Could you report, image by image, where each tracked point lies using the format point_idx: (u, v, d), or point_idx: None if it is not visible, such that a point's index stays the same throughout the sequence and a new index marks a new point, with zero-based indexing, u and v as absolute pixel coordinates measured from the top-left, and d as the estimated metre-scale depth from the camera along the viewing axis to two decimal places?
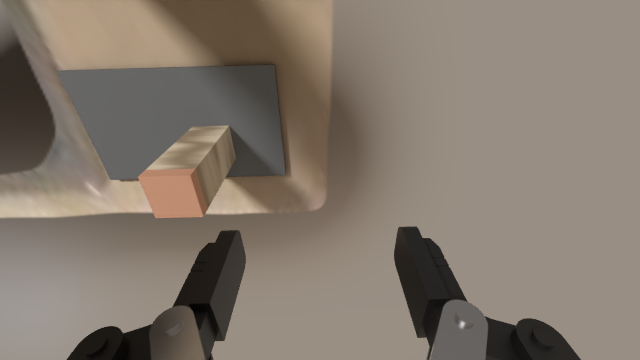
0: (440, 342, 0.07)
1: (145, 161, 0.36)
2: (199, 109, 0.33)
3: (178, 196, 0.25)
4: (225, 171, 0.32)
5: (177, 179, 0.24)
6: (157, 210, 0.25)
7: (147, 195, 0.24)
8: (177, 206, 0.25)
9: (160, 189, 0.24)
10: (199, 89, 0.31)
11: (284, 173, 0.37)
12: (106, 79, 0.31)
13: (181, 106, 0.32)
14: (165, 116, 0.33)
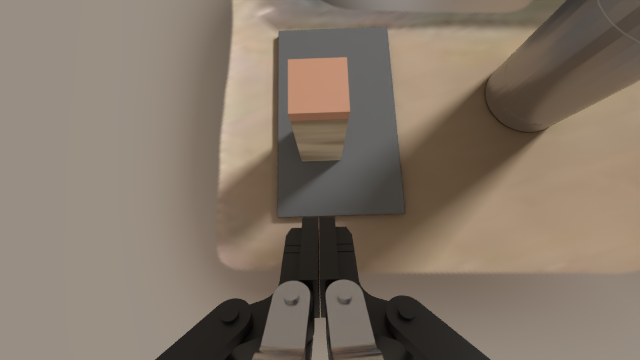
0: (334, 330, 0.08)
1: None
2: (357, 134, 0.32)
3: (319, 92, 0.20)
4: (302, 148, 0.27)
5: (344, 96, 0.20)
6: (300, 64, 0.21)
7: (321, 59, 0.21)
8: (305, 87, 0.20)
9: (330, 75, 0.21)
10: (377, 138, 0.32)
11: (280, 215, 0.30)
12: (382, 62, 0.34)
13: (360, 117, 0.33)
14: None
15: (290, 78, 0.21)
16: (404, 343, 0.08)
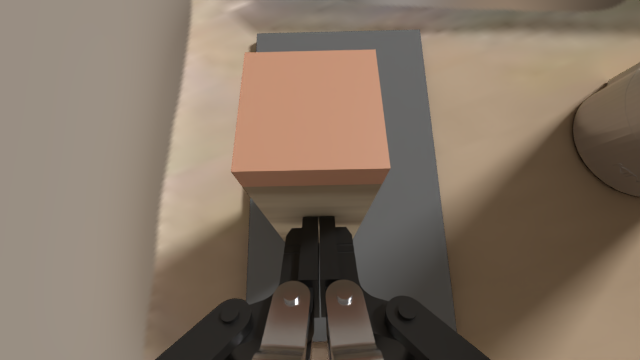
0: (334, 330, 0.08)
1: None
2: (377, 199, 0.20)
3: (313, 120, 0.08)
4: (283, 229, 0.15)
5: (373, 132, 0.08)
6: (270, 62, 0.09)
7: (319, 53, 0.09)
8: (279, 111, 0.09)
9: (338, 85, 0.09)
10: (409, 205, 0.20)
11: None
12: (414, 83, 0.22)
13: None
14: None
15: (246, 90, 0.09)
16: (404, 343, 0.08)
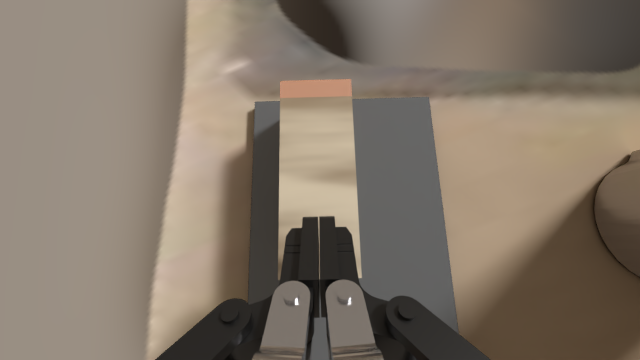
0: (334, 330, 0.08)
1: None
2: (385, 292, 0.19)
3: None
4: (286, 200, 0.16)
5: None
6: None
7: None
8: None
9: None
10: (420, 300, 0.19)
11: None
12: (424, 158, 0.21)
13: (389, 260, 0.19)
14: (370, 229, 0.20)
15: None
16: (404, 343, 0.08)
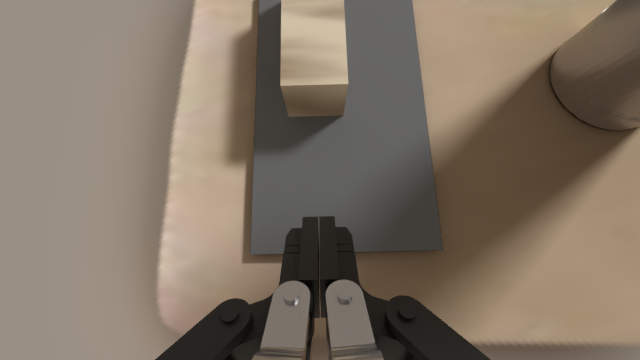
0: (334, 330, 0.08)
1: None
2: (370, 131, 0.22)
3: None
4: (287, 30, 0.19)
5: None
6: None
7: None
8: None
9: None
10: (399, 137, 0.22)
11: (254, 252, 0.20)
12: (405, 31, 0.24)
13: (374, 108, 0.23)
14: (358, 84, 0.23)
15: None
16: (404, 343, 0.08)
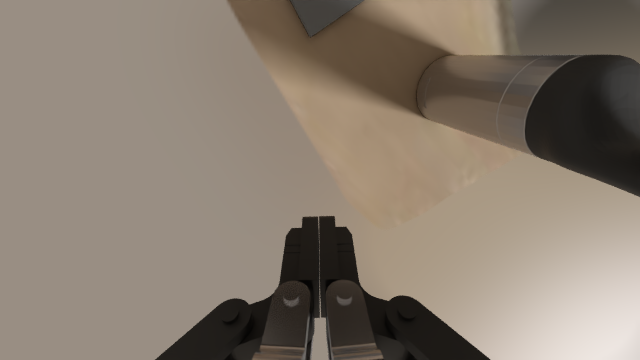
0: (334, 330, 0.08)
1: None
2: None
3: None
4: None
5: None
6: None
7: None
8: None
9: None
10: None
11: None
12: None
13: None
14: None
15: None
16: (404, 343, 0.08)
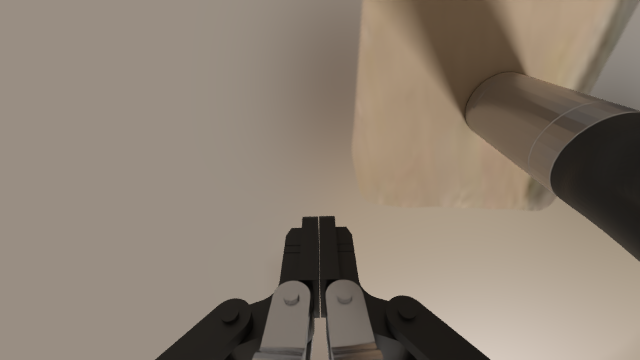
0: (334, 330, 0.08)
1: None
2: None
3: None
4: None
5: None
6: None
7: None
8: None
9: None
10: None
11: None
12: None
13: None
14: None
15: None
16: (404, 343, 0.08)
